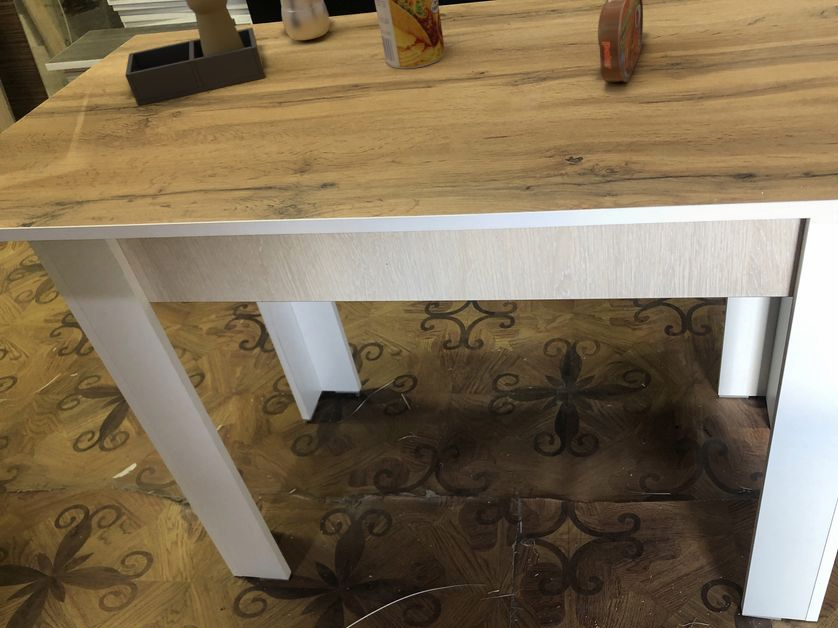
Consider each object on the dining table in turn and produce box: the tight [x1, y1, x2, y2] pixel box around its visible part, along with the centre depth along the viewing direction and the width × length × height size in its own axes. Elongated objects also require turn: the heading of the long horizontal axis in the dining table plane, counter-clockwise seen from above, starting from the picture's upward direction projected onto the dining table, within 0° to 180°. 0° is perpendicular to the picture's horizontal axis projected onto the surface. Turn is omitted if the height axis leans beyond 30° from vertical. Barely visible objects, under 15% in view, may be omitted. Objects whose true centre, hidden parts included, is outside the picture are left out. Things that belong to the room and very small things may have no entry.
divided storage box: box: [125, 27, 266, 107], centre depth 104 cm, size 17×9×4 cm, turn 106°
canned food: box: [374, 0, 446, 70], centre depth 98 cm, size 8×8×12 cm
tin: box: [597, 0, 644, 83], centre depth 88 cm, size 15×3×8 cm, turn 161°
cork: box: [185, 0, 244, 57], centre depth 101 cm, size 6×6×11 cm
